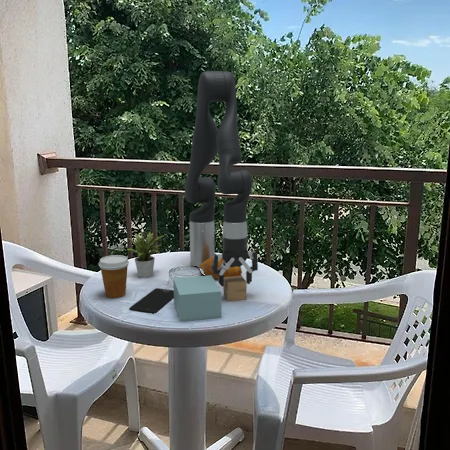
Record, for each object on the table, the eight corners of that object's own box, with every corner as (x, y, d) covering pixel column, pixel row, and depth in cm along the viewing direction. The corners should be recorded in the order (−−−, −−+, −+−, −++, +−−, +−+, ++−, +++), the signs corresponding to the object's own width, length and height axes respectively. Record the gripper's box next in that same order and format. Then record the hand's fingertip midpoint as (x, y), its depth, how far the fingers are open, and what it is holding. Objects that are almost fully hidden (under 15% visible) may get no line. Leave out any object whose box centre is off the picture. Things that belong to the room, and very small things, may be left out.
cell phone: (180, 293, 166) (180, 291, 166) (154, 315, 150) (154, 312, 149) (156, 290, 169) (156, 287, 169) (128, 311, 153) (128, 308, 152)
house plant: (162, 283, 174) (161, 237, 170) (122, 283, 174) (120, 237, 170) (168, 269, 188) (167, 227, 184) (131, 269, 188) (128, 226, 184)
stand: (173, 302, 158) (173, 278, 156) (211, 299, 160) (211, 275, 158) (180, 321, 145) (179, 295, 143) (221, 317, 147) (221, 291, 145)
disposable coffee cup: (101, 301, 159) (98, 265, 156) (100, 290, 168) (97, 256, 165) (132, 298, 161) (130, 262, 158) (129, 287, 170) (127, 253, 167)
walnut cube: (223, 294, 164) (223, 277, 163) (241, 293, 166) (241, 275, 164) (227, 301, 159) (227, 283, 157) (246, 300, 160) (246, 282, 158)
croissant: (229, 290, 174) (231, 269, 171) (192, 276, 181) (194, 255, 179) (249, 276, 186) (252, 256, 183) (214, 264, 193) (216, 244, 191)
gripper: (253, 230, 162) (253, 279, 166) (210, 233, 159) (210, 282, 163) (260, 236, 155) (260, 286, 159) (214, 239, 152) (215, 290, 156)
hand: (235, 284), depth 161 cm, fingers open, 8 cm apart
